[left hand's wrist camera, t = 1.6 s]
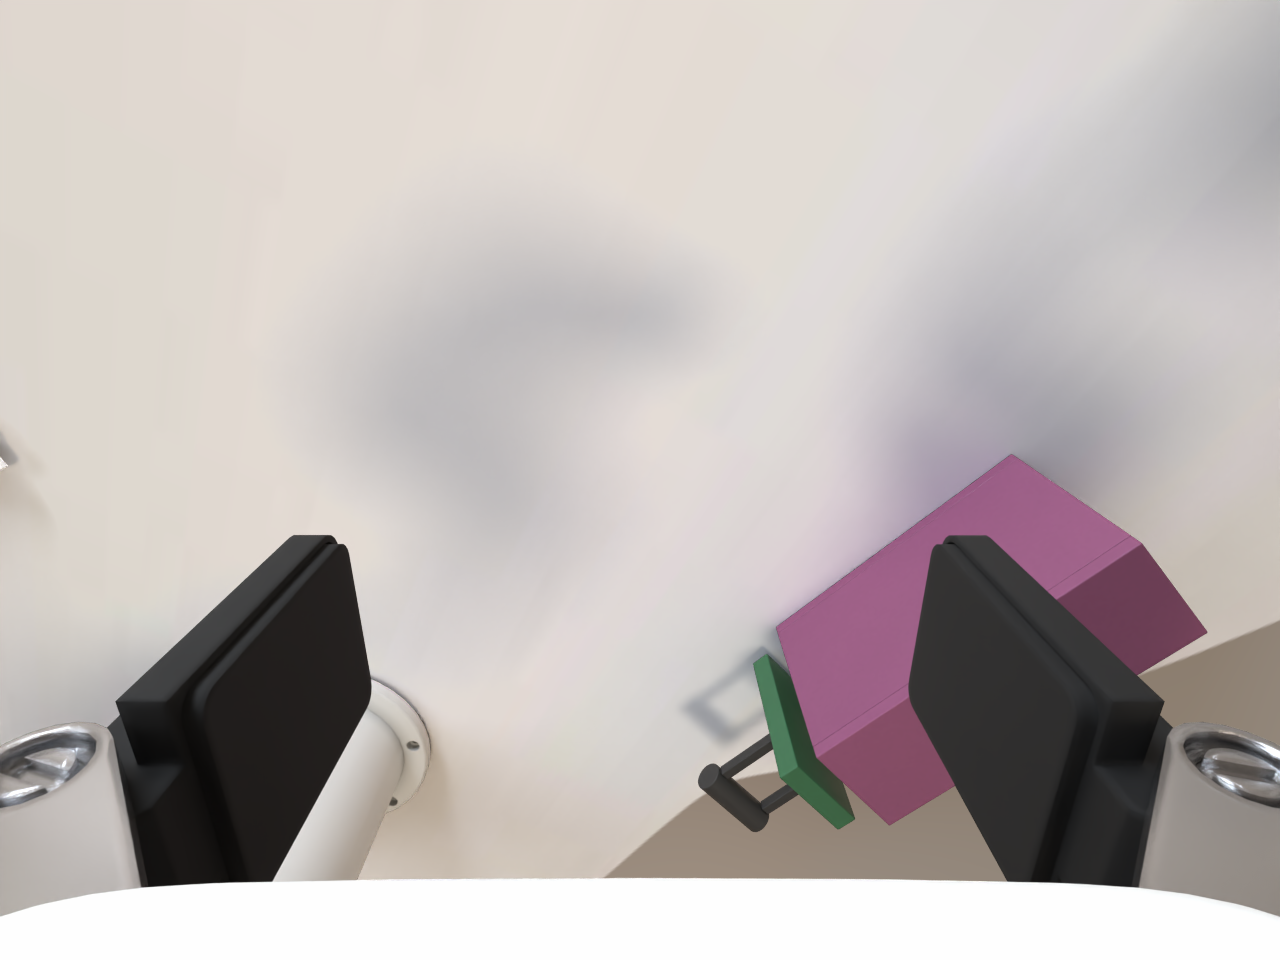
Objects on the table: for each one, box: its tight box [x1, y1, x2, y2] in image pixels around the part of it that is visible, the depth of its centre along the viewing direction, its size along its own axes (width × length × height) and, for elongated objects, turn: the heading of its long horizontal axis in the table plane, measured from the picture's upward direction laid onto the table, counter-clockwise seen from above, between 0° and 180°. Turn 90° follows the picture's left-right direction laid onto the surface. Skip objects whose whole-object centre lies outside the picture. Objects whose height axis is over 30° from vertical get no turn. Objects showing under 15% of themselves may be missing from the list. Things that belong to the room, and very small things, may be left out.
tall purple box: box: [776, 454, 1207, 825], centre depth 38 cm, size 18×6×11 cm, turn 133°
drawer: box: [698, 654, 855, 832], centre depth 40 cm, size 22×5×10 cm, turn 133°
